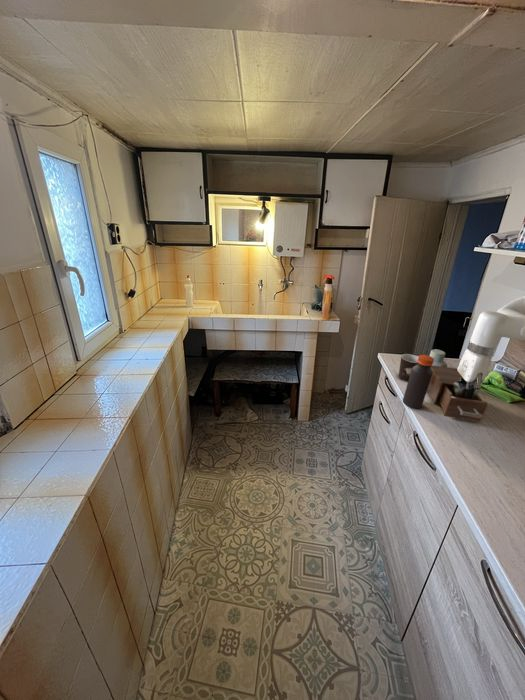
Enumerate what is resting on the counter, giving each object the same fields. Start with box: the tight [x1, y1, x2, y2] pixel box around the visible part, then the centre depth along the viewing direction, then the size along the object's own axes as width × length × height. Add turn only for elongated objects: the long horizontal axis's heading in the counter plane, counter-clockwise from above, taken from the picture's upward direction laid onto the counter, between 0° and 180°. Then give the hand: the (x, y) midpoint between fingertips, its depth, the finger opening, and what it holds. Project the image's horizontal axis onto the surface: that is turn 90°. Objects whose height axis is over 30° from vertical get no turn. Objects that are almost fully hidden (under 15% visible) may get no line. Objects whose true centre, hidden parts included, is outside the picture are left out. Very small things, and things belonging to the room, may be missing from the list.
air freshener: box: [429, 348, 448, 368], centre depth 133 cm, size 11×8×10 cm
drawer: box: [438, 385, 489, 423], centre depth 102 cm, size 18×11×8 cm, turn 166°
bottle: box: [402, 354, 434, 409], centre depth 105 cm, size 7×7×20 cm
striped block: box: [452, 383, 479, 399], centre depth 101 cm, size 6×4×4 cm
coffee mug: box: [398, 353, 419, 383], centre depth 124 cm, size 12×9×10 cm
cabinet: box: [427, 366, 480, 406], centre depth 113 cm, size 15×13×10 cm
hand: (463, 394), depth 102 cm, fingers closed on striped block, 4 cm apart
